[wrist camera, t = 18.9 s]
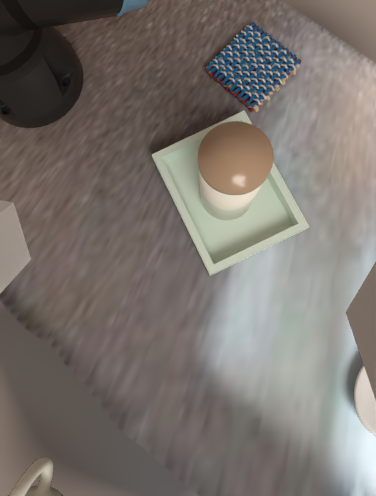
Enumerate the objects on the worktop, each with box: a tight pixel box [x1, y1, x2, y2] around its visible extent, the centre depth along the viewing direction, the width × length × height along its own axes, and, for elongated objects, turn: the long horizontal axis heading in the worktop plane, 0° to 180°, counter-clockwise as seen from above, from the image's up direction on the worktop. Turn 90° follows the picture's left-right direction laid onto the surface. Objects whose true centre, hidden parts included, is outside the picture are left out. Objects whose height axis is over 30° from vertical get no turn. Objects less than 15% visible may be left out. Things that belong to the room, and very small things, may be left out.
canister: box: [198, 121, 274, 220], centre depth 36 cm, size 7×7×12 cm
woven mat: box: [206, 22, 301, 112], centre depth 44 cm, size 10×11×2 cm
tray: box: [152, 110, 309, 276], centre depth 41 cm, size 18×14×2 cm
